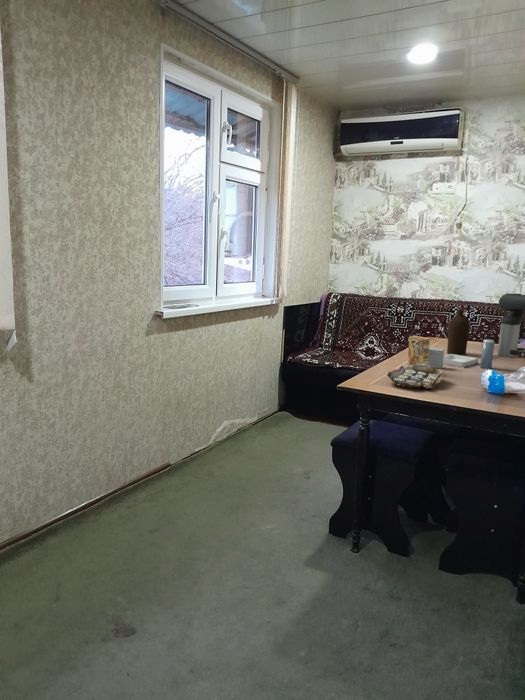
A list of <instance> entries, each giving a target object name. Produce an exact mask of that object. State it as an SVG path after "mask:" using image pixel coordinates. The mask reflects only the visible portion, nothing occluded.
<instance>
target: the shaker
mask: <svg viewBox="0 0 525 700" xmlns="http://www.w3.org/2000/svg"><path fill="white" fill-rule="evenodd" d="M494 351H495V340H493V339H483V342H482V349H481V357H480V365H479V367H480V368H481V369H484V368H487V369H486V370H489V369H488V368H492V367H493V361H494ZM492 369H493V368H492Z"/></svg>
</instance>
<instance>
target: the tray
mask: <svg viewBox="0 0 525 700" xmlns="http://www.w3.org/2000/svg"><path fill="white" fill-rule="evenodd" d="M478 362H479V358H477V357H472V356H467V355H455V354H446V355H444V357H443V365H445V364H446V366H451V365H453V366H452V367H456V366H458V367H457V368H462V367H464V368H467V367H470V366H473V364H474V365H477V364H478ZM476 363H477V364H476ZM466 366H467V367H466Z"/></svg>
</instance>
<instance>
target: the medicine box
mask: <svg viewBox="0 0 525 700" xmlns="http://www.w3.org/2000/svg"><path fill="white" fill-rule="evenodd" d="M444 354H445V349H443V348H434V347H429V355H428V365H431V366H433V367H435V368H436V369H443V365H444V364H443V357H444V356H445V355H444Z"/></svg>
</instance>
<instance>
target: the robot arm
mask: <svg viewBox="0 0 525 700" xmlns="http://www.w3.org/2000/svg"><path fill="white" fill-rule="evenodd" d="M498 304H499V307H500V309H501V310H502V311H506V312H509V313H508V314H506V315H505V316H504V317H501V320H500V331H499V335H498V337H499V339H498V345H497V346H498V348H497V356H500V357H505V358H516V357H518V358H523V359H525V348H523V347H518V344H519V338H520V328H521V323H522V320H523V317H524V311H525V294H521V293H504V294H503V295H501V297H500V298H499V300H498Z"/></svg>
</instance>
